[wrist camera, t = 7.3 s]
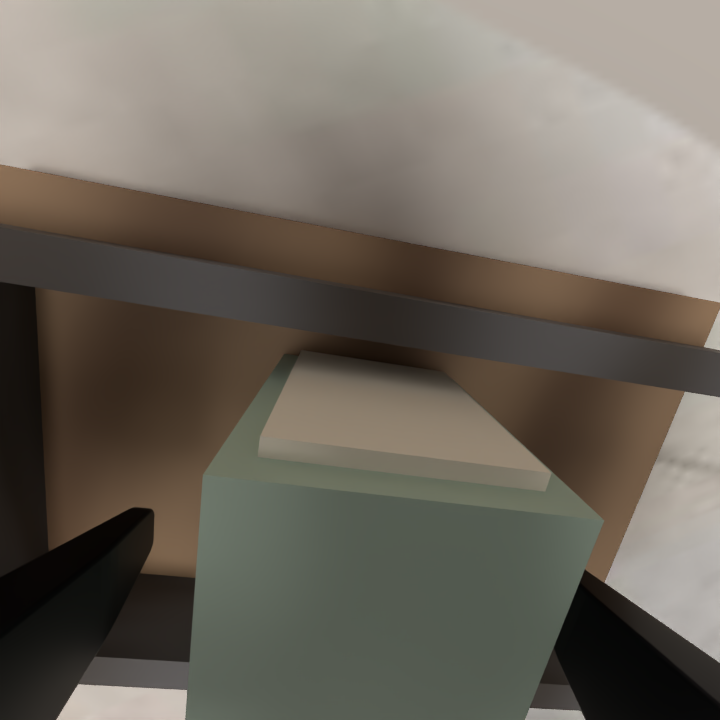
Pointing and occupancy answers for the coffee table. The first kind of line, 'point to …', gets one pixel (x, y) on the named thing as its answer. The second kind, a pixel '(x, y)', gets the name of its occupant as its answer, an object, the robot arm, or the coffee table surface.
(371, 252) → the cradle
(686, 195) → the coffee table surface
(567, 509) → the cabinet block
